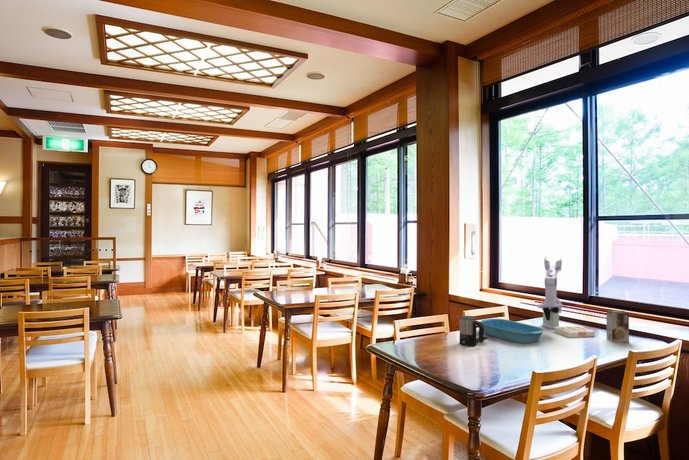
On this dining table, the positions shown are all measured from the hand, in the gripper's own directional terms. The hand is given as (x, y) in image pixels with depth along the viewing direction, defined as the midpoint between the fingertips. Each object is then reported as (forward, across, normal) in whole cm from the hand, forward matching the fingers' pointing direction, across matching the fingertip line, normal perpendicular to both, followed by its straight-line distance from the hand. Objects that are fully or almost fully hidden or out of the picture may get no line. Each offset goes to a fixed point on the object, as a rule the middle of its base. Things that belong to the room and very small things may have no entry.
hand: (550, 320), depth 253 cm
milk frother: (+9, -53, -10) cm, 55 cm away
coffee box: (+9, +28, -18) cm, 35 cm away
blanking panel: (+2, 0, 0) cm, 2 cm away
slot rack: (+9, +14, -1) cm, 17 cm away
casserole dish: (+9, -26, 0) cm, 27 cm away
